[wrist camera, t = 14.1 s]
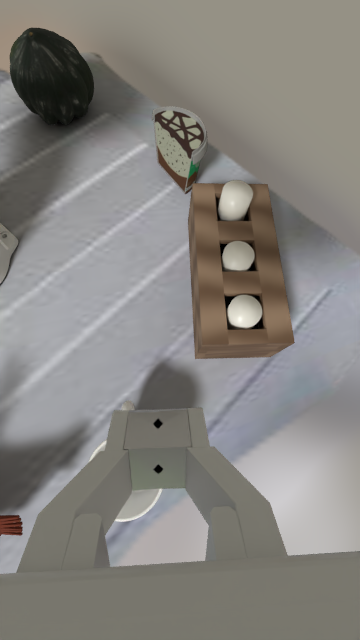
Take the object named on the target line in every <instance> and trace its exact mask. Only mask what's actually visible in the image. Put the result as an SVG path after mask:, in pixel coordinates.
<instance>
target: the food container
mask: <svg viewBox="0 0 360 640" xmlns="http://www.w3.org/2000/svg"><path fill="white" fill-rule="evenodd" d="M152 120H154V129H155V140H156V151H157V162H158V164H159V166H160V167H161V168H162V169H163V170H164V171H165V172H166V174H167V175H168V176H169V177H170V178H171V179H172V180H173V181H174V183H175V184H176V185H177V186H178V187H179V188H180V189H181V191H182V192H183V193H184V194H186V193H188V192H189V191H190V190H191V189H192V183H195V181H196V177H197V173H198V168H199V164H200V160H201V159H202V157H203V156H204V155H205V153H206V150H207V145H208V142H207V132H206V129H205V126H204V124H203V122H202V120H201V119H200V118H199V117H198V116H197V115H195V114H194V113H192V112H191V111H188V110H186V109H183V108H179V107H161V108H157V109H154V110H153V113H152Z"/></svg>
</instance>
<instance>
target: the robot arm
mask: <svg viewBox="0 0 360 640" xmlns="http://www.w3.org/2000/svg"><path fill="white" fill-rule="evenodd" d="M5 237H6V238H5ZM17 245H18V239H17V238H16V237H15V236H14V235H13V234H12V233H11V232H10V231H9V230H7V229H6V228H5V227H4V226H3V225H2V224H1V223H0V284H1V282H2V281H3V279H4V278H5V276H6V274H7V271H8V268H9V262H10V257H11V255H12V253H13V252H14V250H15V249H16V247H17ZM167 488H186V491H187V493H188V494H189V496H190V497H191V499H192V500H193V502H194V503H195V505H196V506H197V508H198V510H199V511H200V513H201V514H202V516H203V517H204V519H205V520H206V522H207V523H208V525H209V530H208V539H207V550H206V559H205V561H197V562H182V563H165V564H150V565H134V566H119V567H110V562H109V556H108V551H107V545H106V539H105V535H106V533H107V532H108V530H109V528H110V527H111V525H112V524H113V522H114V520H115V519H116V517H117V516H118V514H119V513H120V511H121V509H122V508H123V506H124V505H125V503H126V501H127V500H128V498H129V497H130V495H131V494H132V491H135V490H148V489H167ZM0 640H360V551H355V552H339V553H324V554H308V555H292V556H288V555H287V552H286V549H285V547H284V544H283V541H282V538H281V535H280V532H279V529H278V526H277V523H276V520H275V517H274V514H273V511H272V508H271V505H270V503H269V502H268V501H267V500H266V499H265V498H264V497H263V496H262V495H261V494H260V493H259V492H258V491H257V490H256V488H254V486H253V485H252V484H251V483H250V482H248V481H247V479H245V478H244V476H243V475H242V474H241V473H240V472H239V471H238V470H237V469H236V468H235V467H234V466H233V465H232V464H231V463H230V462H229V461H228V460H227V459H226V458H225V457H224V456H223V455H222V454H221V453H220V452H219V451H218V450H217V449H216V448H215V447H210V445H209V440H208V435H207V429H206V424H205V418H204V413H203V409H202V408H183V409H158V410H114V412H113V414H112V419H111V423H110V428H109V433H108V437H107V442H106V446H105V451H100V452H99V453H98V454H97V455H96V456H95V457H94V458H93V459H92V460H91V461H90V462H89V463H88V464H87V465H86V466H85V467H84V468H83V469H82V470H81V471H80V472H79V473H78V474H77V475H76V476H75V477H74V478H73V479H72V480H71V481H70V482H69V483H68V484H67V485H66V486H65V487H64V489H63V490H62V491H61V492H60V493H59V494H58V495H57V496H56V497H55V498H54V499H53V500H52V501H51V502H50V503H49V504H48V505H47V506H46V507H45V508H44V509H43V510H42V511H41V512H40V513H39V514H38V517H37V519H36V522H35V525H34V527H33V530H32V532H31V535H30V538H29V540H28V543H27V546H26V548H25V551H24V554H23V556H22V559H21V562H20V564H19V567H18V570H17V572H16V573H9V574H0Z"/></svg>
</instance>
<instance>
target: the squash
mask: <svg viewBox="0 0 360 640" xmlns="http://www.w3.org/2000/svg"><path fill="white" fill-rule="evenodd" d="M10 64H11V65H10V75H11V79H12V83H13V85H14V88H15V90H16V92H17V93H18V95H19V97H20V98H21V99H22V100H23V102H24V103H25V104H26V106H27V107H28V108H29V109H30V110H31V111H32V112H33V113H35V114H38V115H39V116H40V117H41V118H42V119H43V120H44V121H45V122H46V123H48V124H50V125H54V124H56V123H57V122H58V121H60V122H61V123H63V124H64V125H68V124H69V123H70V122H71V121H72V119H73V117H78V118H81V117H83V116H84V115H85V114H86V113H87V110H88V105H89V104H90V102H91V100H92V97H93V92H94V82H93V76H92V73H91V70H90V68H89V66H88V64H87V63H86V61H85V60H84V59H83V57H82V56H81V55H80V54H79V52H78V50H77V49H76V47H75V46H74V45H73V44H72V43H71V42H70V41H69V40H67V39H65V38H64V37H61V36H59V35H58V34H56V33H55V32H52V31H49V30H46V29H41V28H29V29H27V30H26V31H24V32H23V34H22V35H21V36H20V37H19V38H18V39H17V40H16V41H15V42H14V44H13V46H12V48H11V53H10Z"/></svg>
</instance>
